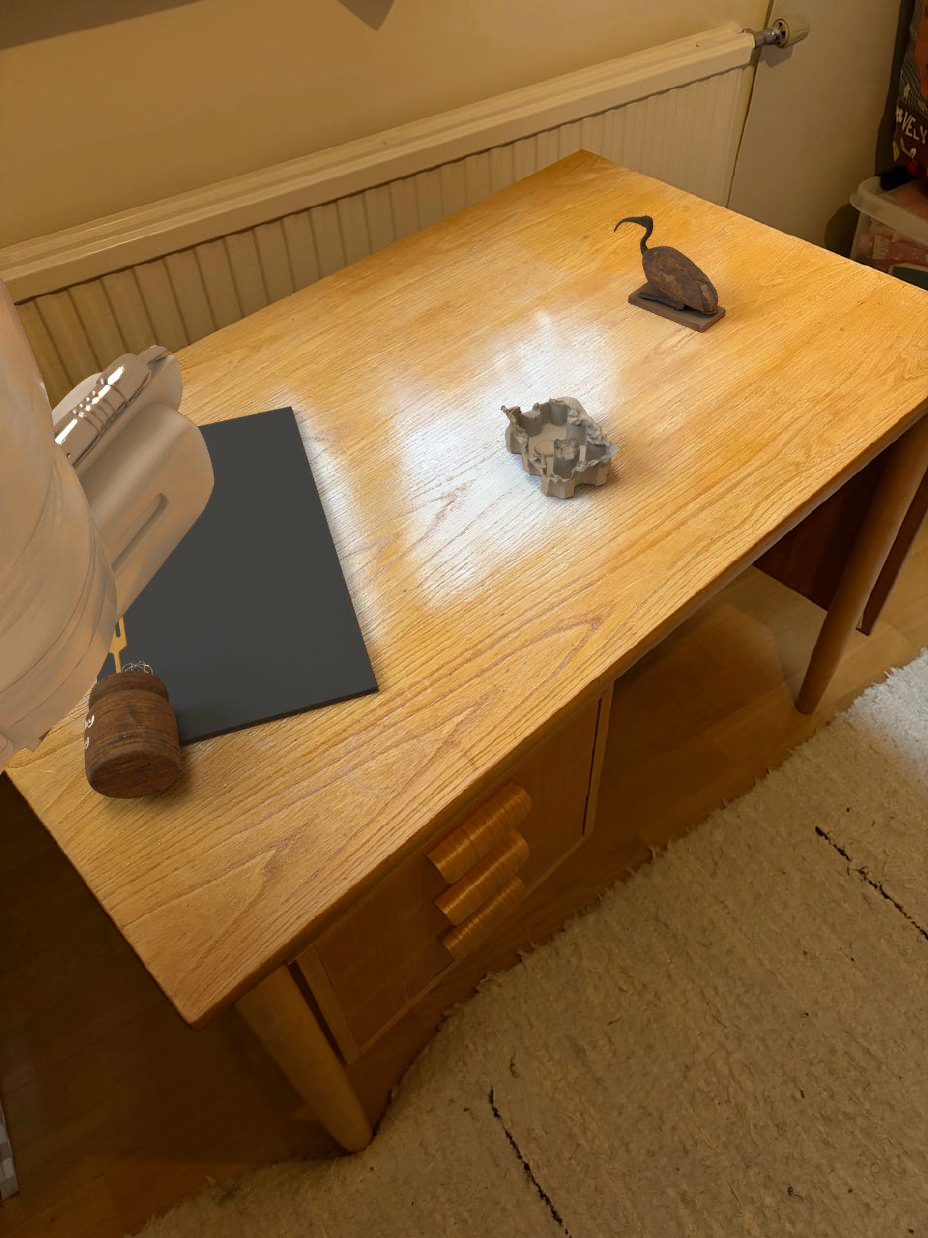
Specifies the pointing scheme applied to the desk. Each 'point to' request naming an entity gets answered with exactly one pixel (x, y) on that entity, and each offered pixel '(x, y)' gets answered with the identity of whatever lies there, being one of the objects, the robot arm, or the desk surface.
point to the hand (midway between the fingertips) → (40, 711)
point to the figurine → (674, 285)
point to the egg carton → (560, 445)
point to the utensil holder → (130, 732)
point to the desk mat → (250, 594)
